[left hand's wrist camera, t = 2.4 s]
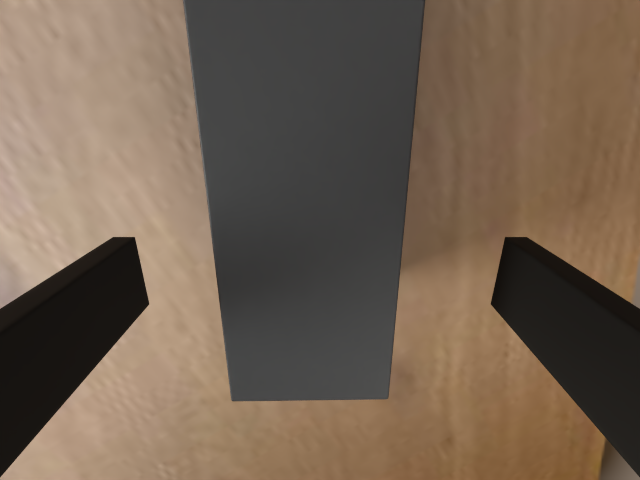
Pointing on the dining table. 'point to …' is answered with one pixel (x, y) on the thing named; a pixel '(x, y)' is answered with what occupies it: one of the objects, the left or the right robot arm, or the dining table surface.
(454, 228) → the dining table surface
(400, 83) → the bar
